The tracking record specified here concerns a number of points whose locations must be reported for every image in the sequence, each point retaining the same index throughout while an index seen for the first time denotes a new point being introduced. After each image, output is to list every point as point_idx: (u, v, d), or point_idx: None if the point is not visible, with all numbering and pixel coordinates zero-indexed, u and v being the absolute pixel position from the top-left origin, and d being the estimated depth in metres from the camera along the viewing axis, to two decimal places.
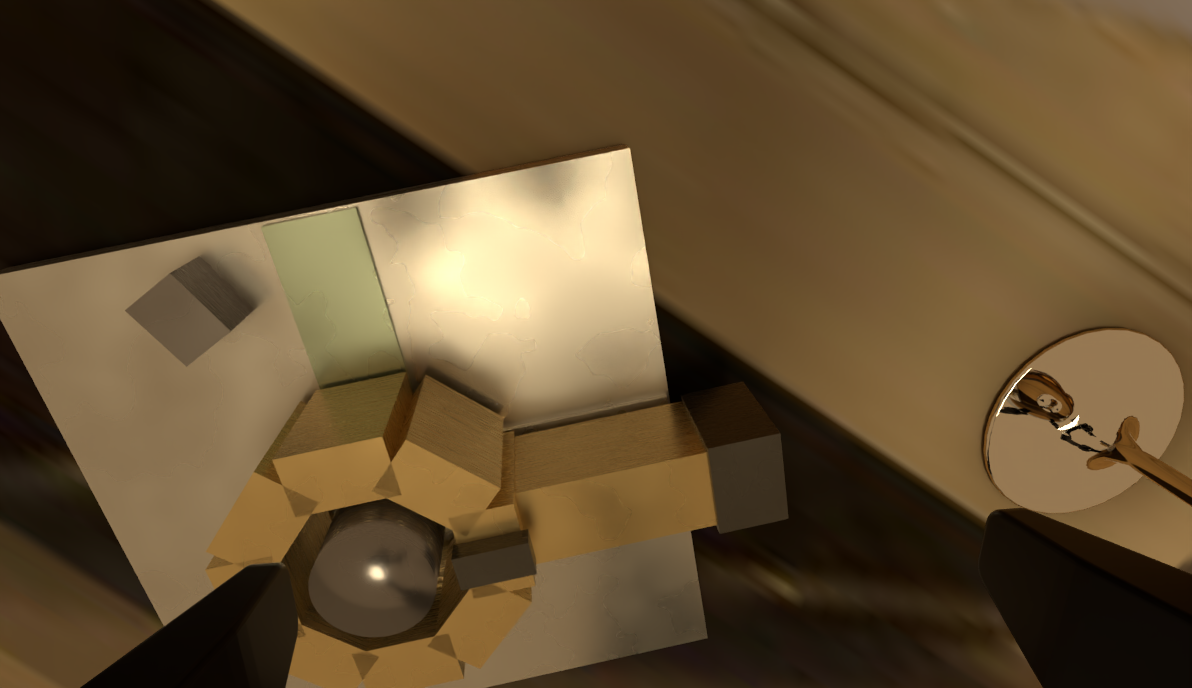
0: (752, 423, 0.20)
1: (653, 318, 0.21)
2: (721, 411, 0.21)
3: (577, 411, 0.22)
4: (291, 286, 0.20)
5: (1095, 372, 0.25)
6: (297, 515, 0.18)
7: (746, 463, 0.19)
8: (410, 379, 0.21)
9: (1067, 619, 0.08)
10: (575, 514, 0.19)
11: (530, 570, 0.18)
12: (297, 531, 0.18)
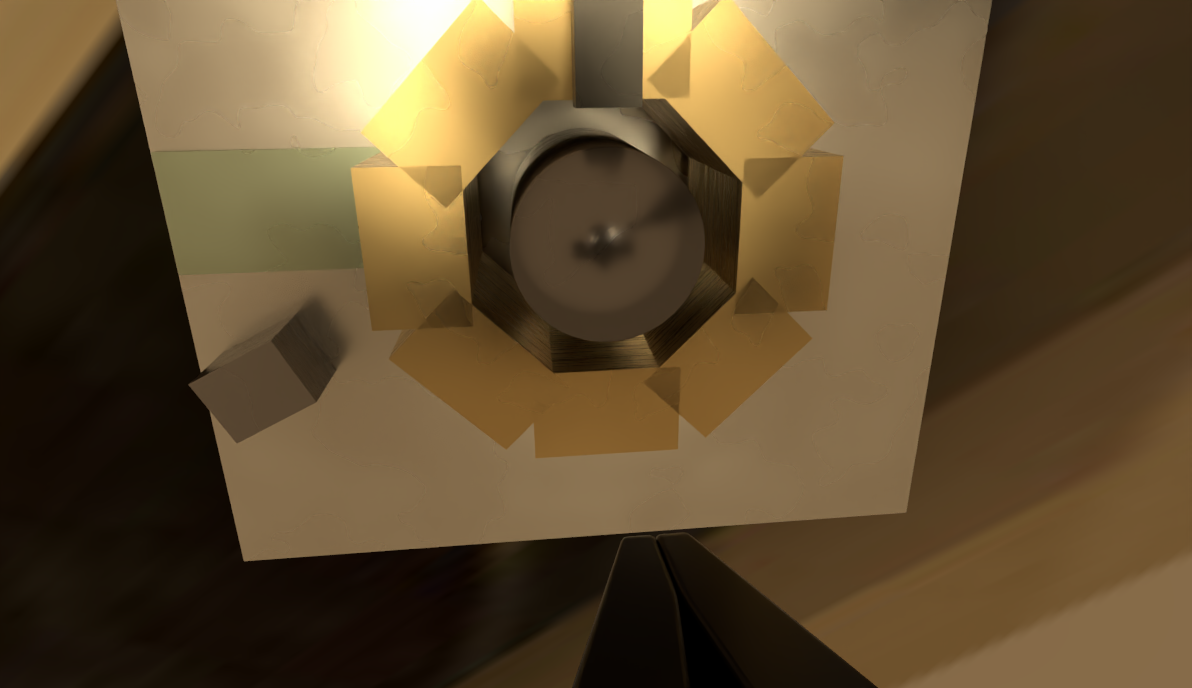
0: None
1: None
2: None
3: None
4: (262, 261, 0.16)
5: None
6: (469, 323, 0.12)
7: None
8: None
9: None
10: None
11: None
12: (498, 330, 0.12)
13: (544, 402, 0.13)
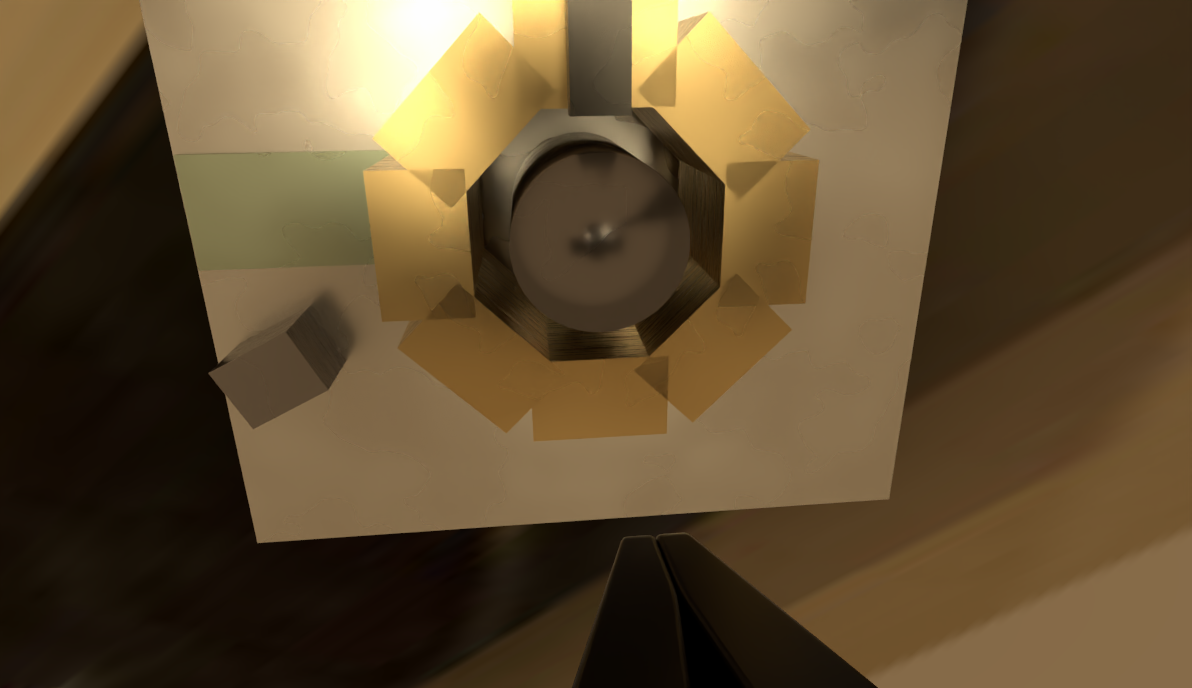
0: None
1: None
2: None
3: None
4: (276, 258, 0.17)
5: None
6: (472, 315, 0.13)
7: None
8: None
9: None
10: None
11: None
12: (499, 321, 0.13)
13: (541, 388, 0.14)
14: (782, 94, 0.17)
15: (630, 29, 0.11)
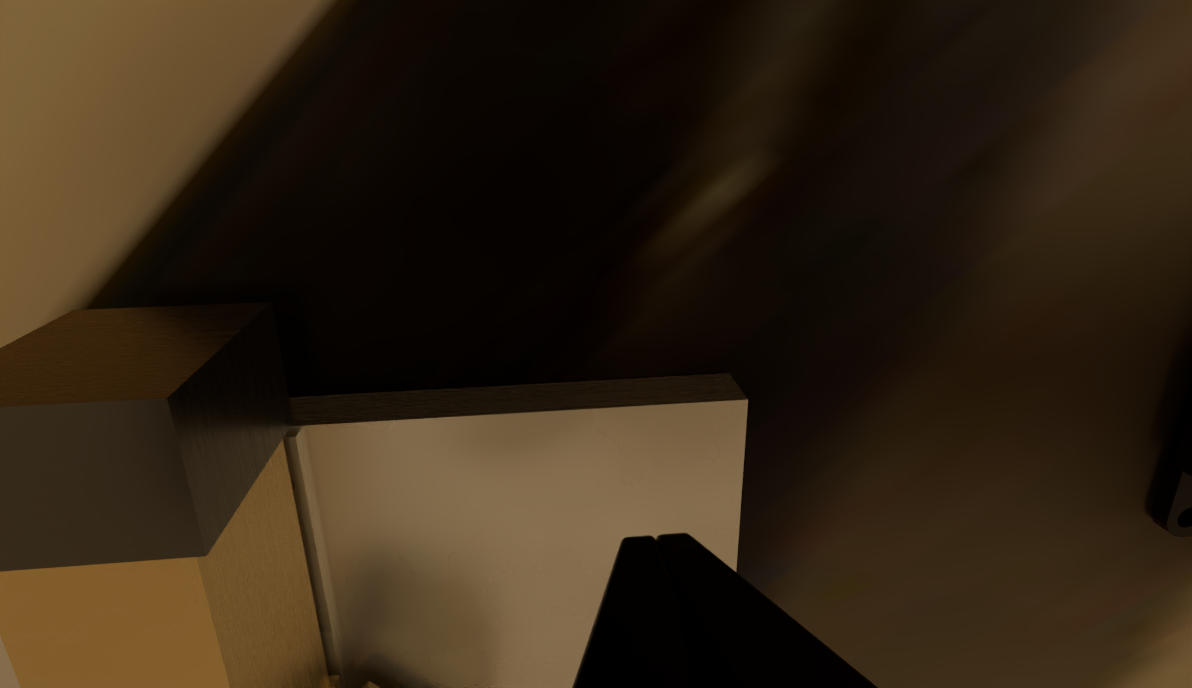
0: None
1: None
2: None
3: None
4: None
5: None
6: None
7: None
8: None
9: None
10: None
11: None
12: None
13: None
14: None
15: None
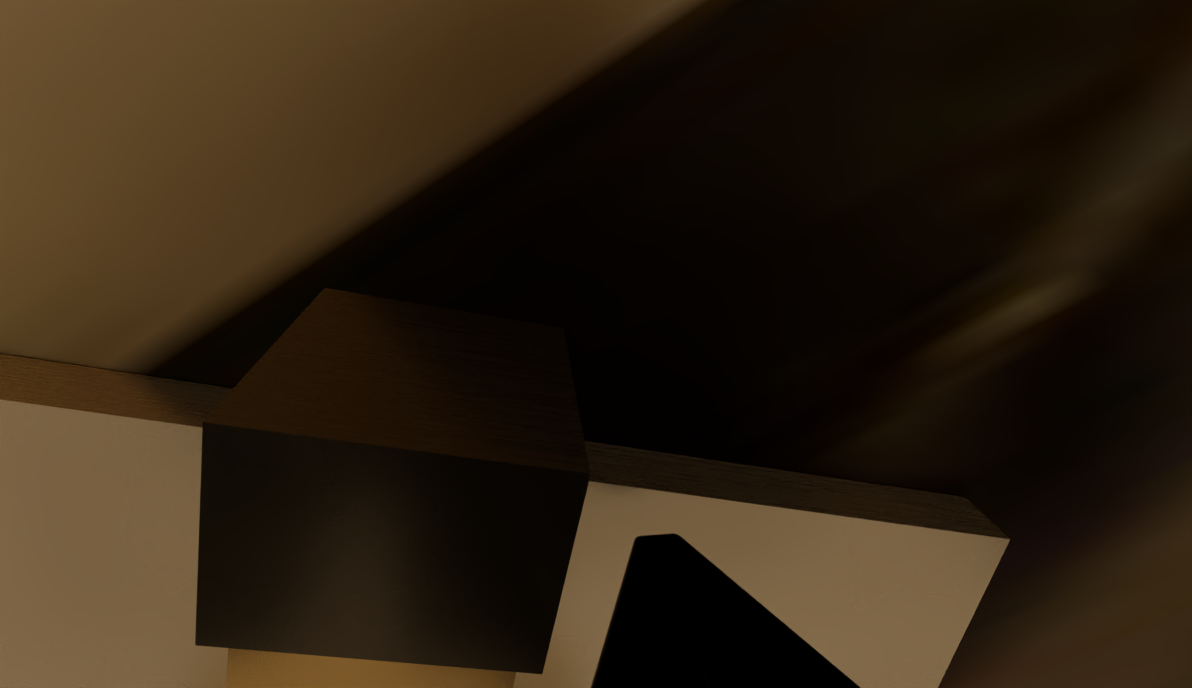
0: None
1: (115, 423, 0.09)
2: None
3: None
4: None
5: None
6: None
7: (297, 552, 0.05)
8: None
9: None
10: None
11: None
12: None
13: None
14: None
15: None
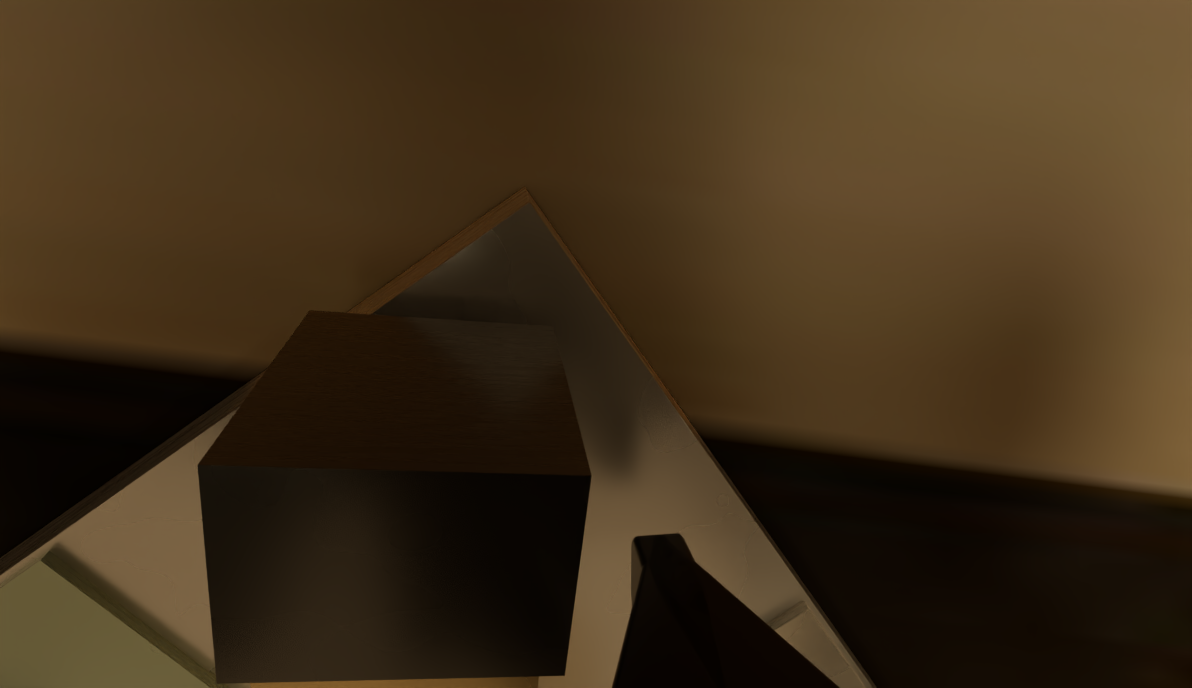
0: None
1: (726, 492, 0.10)
2: None
3: None
4: None
5: None
6: None
7: (307, 582, 0.05)
8: None
9: None
10: None
11: None
12: None
13: None
14: None
15: None
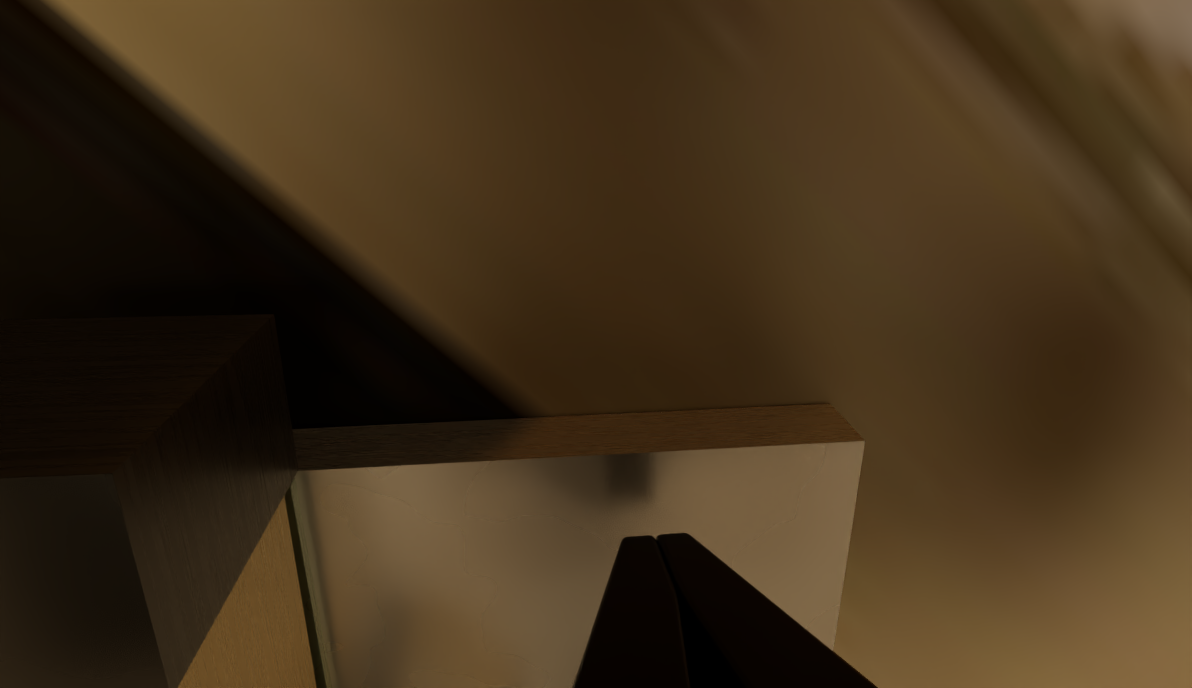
0: None
1: None
2: None
3: None
4: None
5: None
6: None
7: None
8: None
9: None
10: None
11: None
12: None
13: None
14: None
15: None
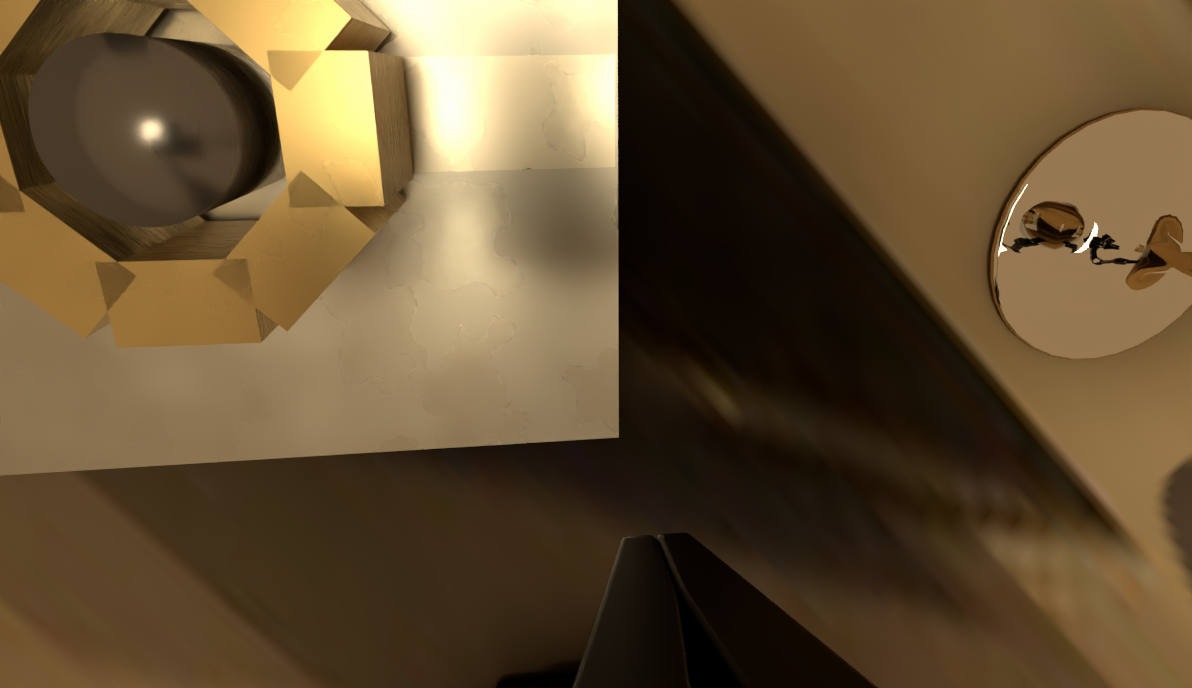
0: None
1: None
2: None
3: (492, 54, 0.17)
4: None
5: (1142, 162, 0.20)
6: (21, 209, 0.13)
7: None
8: None
9: None
10: None
11: None
12: (52, 217, 0.13)
13: (113, 291, 0.13)
14: (365, 310, 0.18)
15: None
